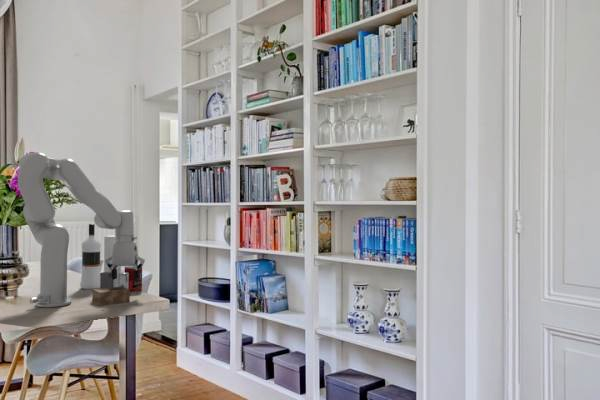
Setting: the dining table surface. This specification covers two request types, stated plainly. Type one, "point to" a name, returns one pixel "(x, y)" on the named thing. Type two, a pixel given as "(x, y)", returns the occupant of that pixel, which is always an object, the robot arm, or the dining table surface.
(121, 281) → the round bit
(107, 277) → the square bit
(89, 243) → the vodka
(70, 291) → the dining table surface
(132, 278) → the canned food
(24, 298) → the dining table surface
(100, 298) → the bore block
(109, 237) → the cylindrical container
